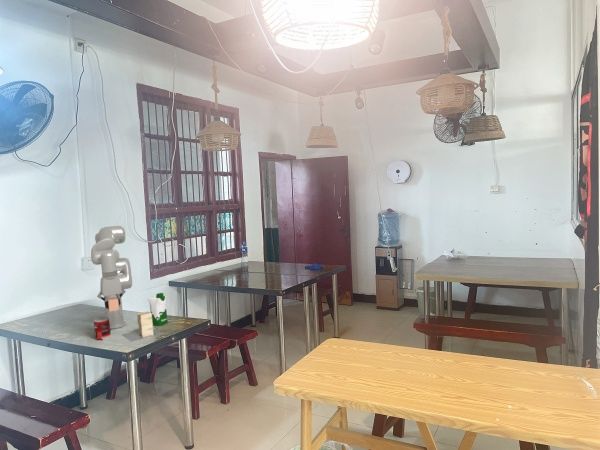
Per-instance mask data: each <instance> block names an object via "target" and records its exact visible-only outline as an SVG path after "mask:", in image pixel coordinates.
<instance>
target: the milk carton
mask: <svg viewBox="0 0 600 450" xmlns="http://www.w3.org/2000/svg"><path fill="white" fill-rule="evenodd" d="M147 301H148V303H149V310H150V311H149V312H150V313H152V323H153V327H162V326H164V325H167V324H169V322H168V321H169V320H168V313H167V295H164V293H163V292H159V293H156V295H154V296H151V297H148V298H147Z"/></svg>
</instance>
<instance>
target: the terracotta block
mask: <svg viewBox="0 0 600 450" xmlns="http://www.w3.org/2000/svg"><path fill="white" fill-rule="evenodd" d="M107 300H108V305H109V309H107V310H108V311H109V312H111V311H116V310H119V303H118V299H117V298H116V297H115V298H110V299H107Z"/></svg>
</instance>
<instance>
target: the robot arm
mask: <svg viewBox="0 0 600 450" xmlns="http://www.w3.org/2000/svg"><path fill="white" fill-rule="evenodd" d="M94 237H95V238H94V239H95V240H94V241H95V244H94V245H92V247H91V249H90V259H91V262H92V265H96V266H97V265H98V266H99V265H100V266H101V276H102V277H100V282H99V285H100V287H99V288H100V291H99V293H98V294H97V295H96V296H97V298H98V299H100V300H102V301H103V302H104V308H105V309H104V310H105V317H108V318H109V323H110V330H114V329H119V328H122V327H125V326H126V325H127V322H126V321H124V313H123V303H122V297H123V295H124V294H125V293H126V292H127V291H126V290H128V289H131V288H132V286H133V277H132V268H131V263H130V260H129V259H128V258H127V257H120V253H119V251H118V250H117V249H114V247H116V245H117V244H124V243H125V242H126V231H125V228H124V227H123V226H121V225H113V226H104V227H102V228H101V229H99V231H98V232H97V233H96V234H95V236H94ZM115 297H116V298H117V299H118V303H119V310H116V311H111V312H109V311H108V310H107V309H109V305H108V300H107V299H110V298H115Z"/></svg>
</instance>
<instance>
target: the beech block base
mask: <svg viewBox="0 0 600 450" xmlns="http://www.w3.org/2000/svg"><path fill="white" fill-rule="evenodd" d="M137 326H138V329H137V330H139V335H140V336H142V337H145V336H149V335H153V330H154V326H153V324H150V325H145V326H140V325H138V324H137Z"/></svg>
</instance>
